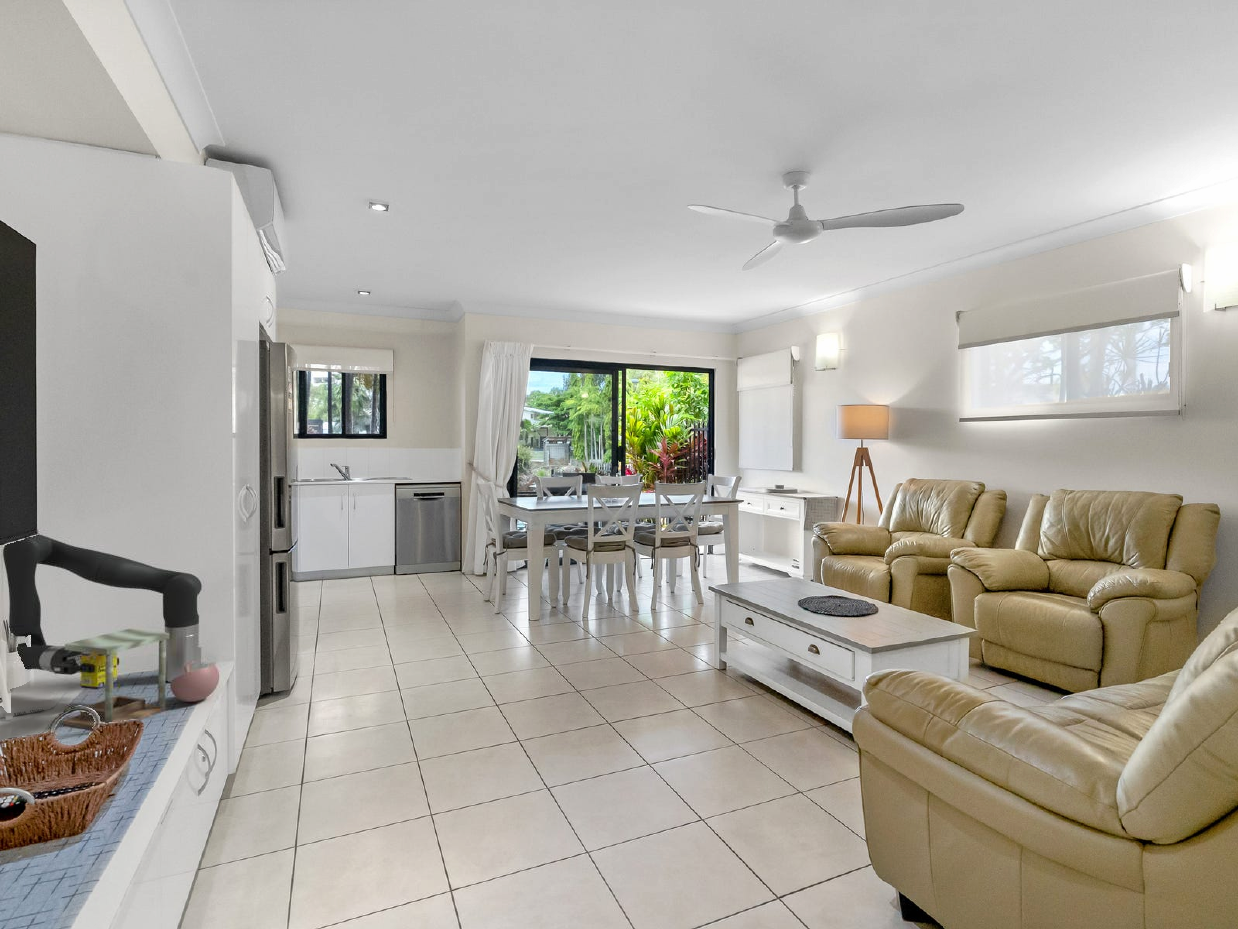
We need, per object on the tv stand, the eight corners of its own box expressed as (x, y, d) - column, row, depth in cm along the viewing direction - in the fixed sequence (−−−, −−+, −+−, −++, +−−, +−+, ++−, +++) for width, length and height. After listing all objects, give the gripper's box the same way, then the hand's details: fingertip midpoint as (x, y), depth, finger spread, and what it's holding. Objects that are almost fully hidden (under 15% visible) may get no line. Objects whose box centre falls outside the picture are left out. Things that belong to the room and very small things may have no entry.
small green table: (125, 702, 188) (126, 628, 188) (168, 709, 184) (169, 633, 184) (60, 725, 172) (62, 643, 172) (105, 733, 167) (106, 649, 167)
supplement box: (97, 690, 183) (97, 651, 183) (80, 688, 184) (80, 649, 184) (117, 683, 189) (117, 645, 189) (101, 681, 190) (101, 644, 190)
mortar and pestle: (202, 691, 199) (203, 653, 199) (227, 697, 193) (228, 659, 193) (160, 704, 188) (161, 664, 188) (186, 711, 183) (187, 670, 183)
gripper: (35, 654, 184) (78, 659, 179) (89, 640, 197) (131, 645, 193) (35, 680, 184) (78, 686, 179) (89, 665, 198) (130, 670, 193)
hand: (105, 665), depth 186 cm, fingers closed on supplement box, 6 cm apart
